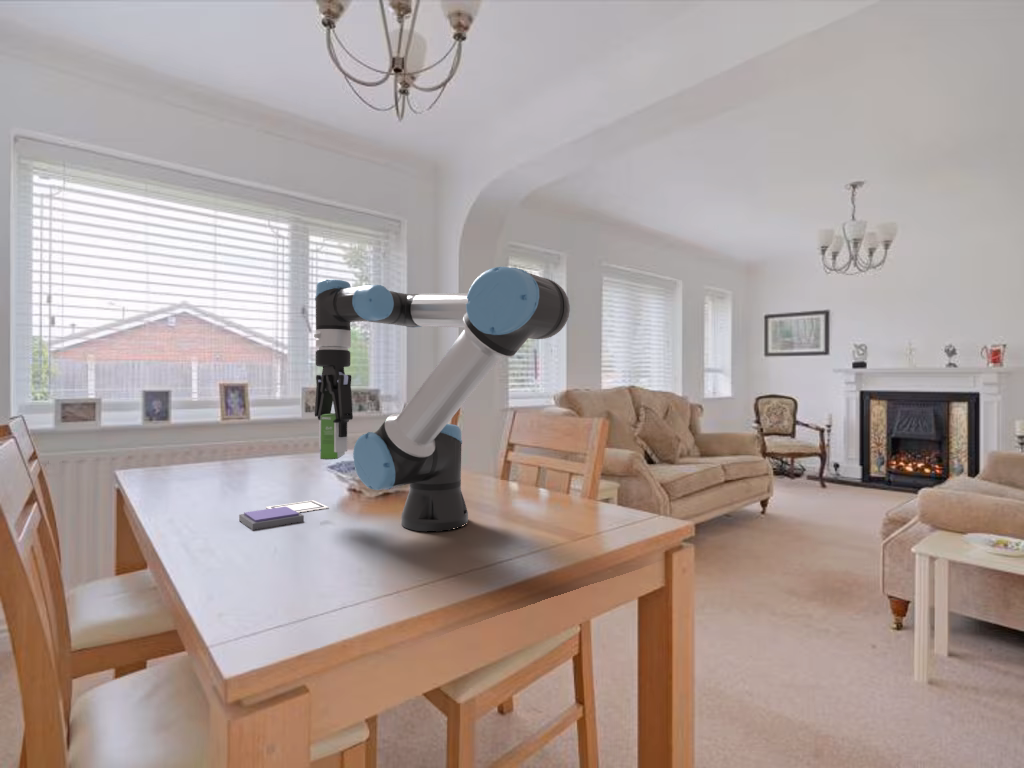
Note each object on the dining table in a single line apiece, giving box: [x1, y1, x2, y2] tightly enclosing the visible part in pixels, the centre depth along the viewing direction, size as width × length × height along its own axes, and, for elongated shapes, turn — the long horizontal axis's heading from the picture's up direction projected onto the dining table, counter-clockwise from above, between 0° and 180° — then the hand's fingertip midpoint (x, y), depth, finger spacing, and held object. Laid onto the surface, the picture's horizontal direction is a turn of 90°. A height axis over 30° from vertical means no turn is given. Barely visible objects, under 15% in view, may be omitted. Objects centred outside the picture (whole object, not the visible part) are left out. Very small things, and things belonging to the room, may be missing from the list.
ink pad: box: [238, 507, 305, 531], centre depth 125 cm, size 10×11×2 cm
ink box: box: [319, 412, 346, 461], centre depth 123 cm, size 7×4×13 cm, turn 5°
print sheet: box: [265, 499, 330, 514], centre depth 137 cm, size 10×12×1 cm
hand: (332, 449), depth 123 cm, fingers closed on ink box, 8 cm apart
